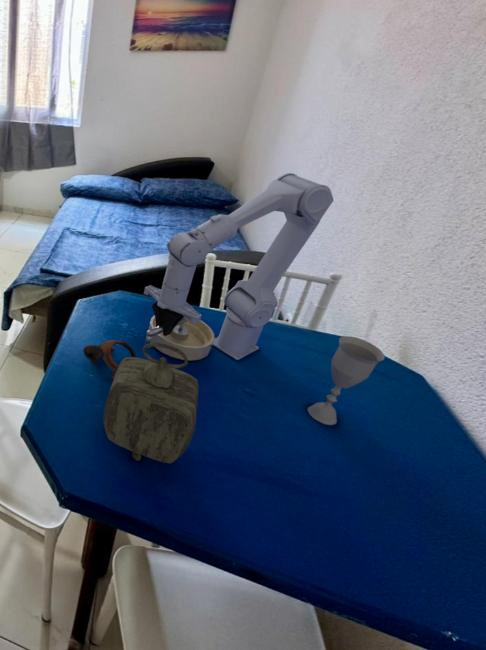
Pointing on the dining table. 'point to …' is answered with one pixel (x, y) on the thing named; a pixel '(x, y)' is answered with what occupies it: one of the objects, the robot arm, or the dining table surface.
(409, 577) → the dining table surface
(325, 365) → the dining table surface
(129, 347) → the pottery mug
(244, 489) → the dining table surface
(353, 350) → the chalice
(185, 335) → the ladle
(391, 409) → the dining table surface
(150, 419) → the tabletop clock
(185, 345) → the bowl
